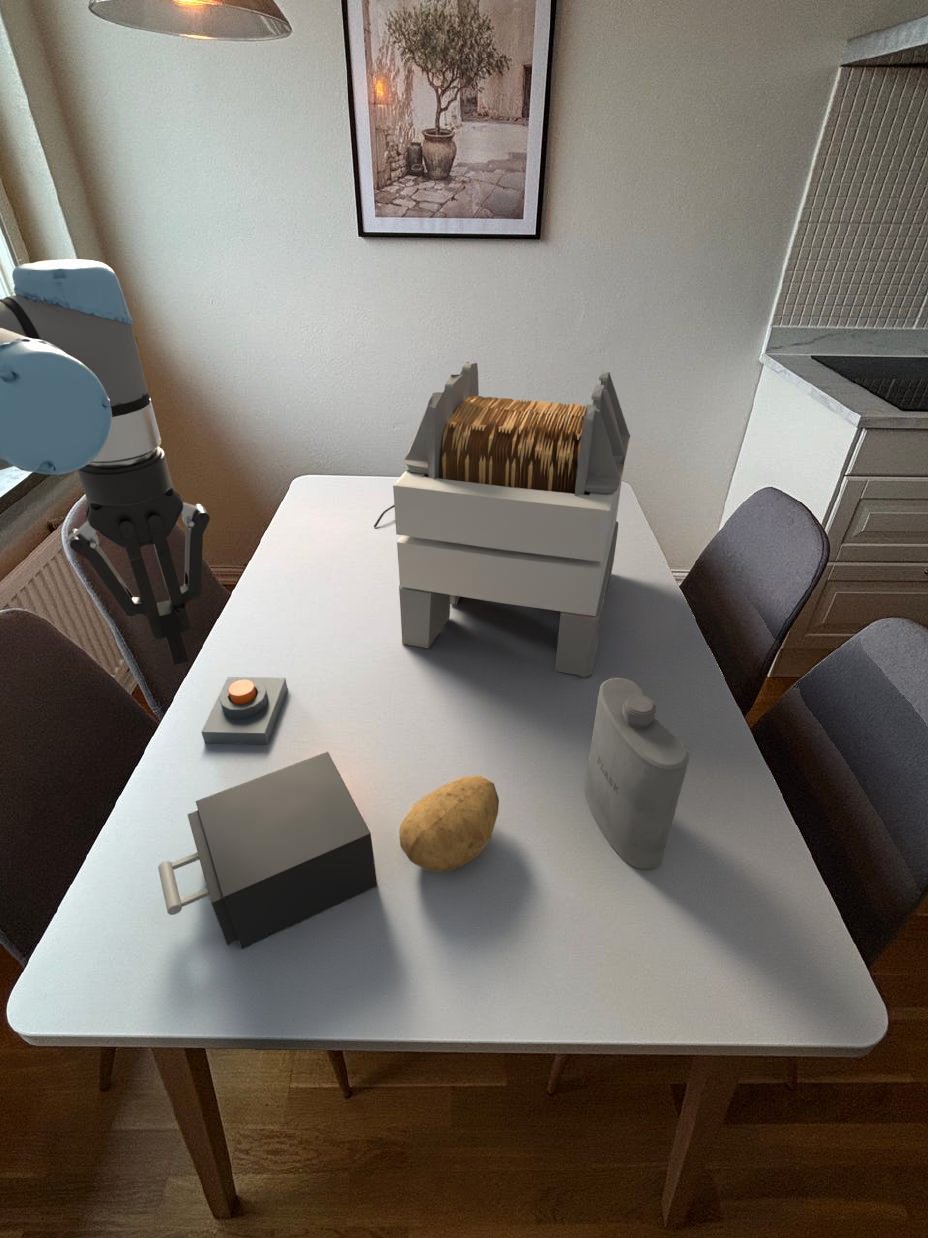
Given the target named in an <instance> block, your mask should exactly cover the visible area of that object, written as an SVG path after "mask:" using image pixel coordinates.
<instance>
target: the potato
mask: <svg viewBox="0 0 928 1238" xmlns="http://www.w3.org/2000/svg"><path fill="white" fill-rule="evenodd" d="M499 806H500V799H499V795H498V792H497V789H496V786H495V783H494V782H492V781H491V780H489V779H487V778H485V777H484V776H482V775H469V776H461V777H459V778H457V779H455V780H452V781H450V782H448V783H446V784H444V785H442V786H440V787H438V788H437V789H434V790H433V791H431V792H430V793H428V794H427V795H425V796H423V797H422V798H421V799H420V800H418V801H417V802H416V803H414V804H413V806H412V807H411V808H410V809H409V811H408V813H406V815H405V817H404V819H403V820H402V822H401V824H400V826H399V831H398V834H399V845H400V848H401V850H402V851H403V853H404V854H405V855H406V856H407V858H408V860H409V861H410V862H411V863H413V864H414V865H416V866H419V867H420V868H422V869H424V870H426V871H428V872H437V873H438V872H439V873H446V872H450V871H453V870H456V869H459V868H461V867H462V866H464V865H466V864H468V863H469V862H471V861H472V860H473V859H475V858H476V857H478V856H479V855H480V854H481V852H482V851H483V849H484V848H485V846H486V845H487V844H488V843H489V842H490V840H491V839H492V835H493V833H494V829H495V825H496V821H497V819H498V814H499V808H500V807H499Z"/></svg>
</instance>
